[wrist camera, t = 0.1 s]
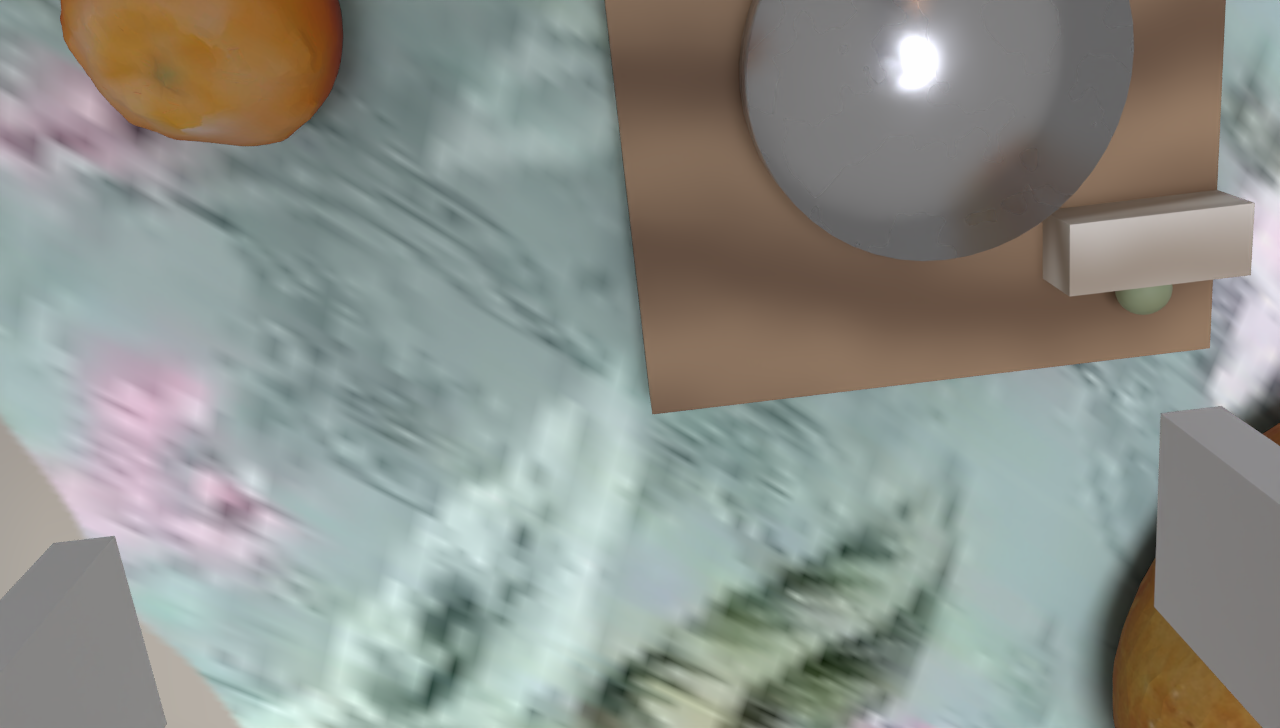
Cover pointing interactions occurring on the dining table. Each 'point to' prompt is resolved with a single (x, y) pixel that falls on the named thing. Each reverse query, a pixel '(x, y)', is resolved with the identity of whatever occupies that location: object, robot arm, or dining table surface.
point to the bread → (1168, 671)
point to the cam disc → (933, 113)
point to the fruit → (209, 63)
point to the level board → (906, 289)
